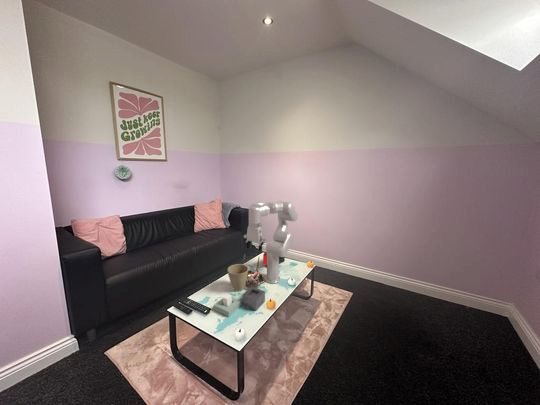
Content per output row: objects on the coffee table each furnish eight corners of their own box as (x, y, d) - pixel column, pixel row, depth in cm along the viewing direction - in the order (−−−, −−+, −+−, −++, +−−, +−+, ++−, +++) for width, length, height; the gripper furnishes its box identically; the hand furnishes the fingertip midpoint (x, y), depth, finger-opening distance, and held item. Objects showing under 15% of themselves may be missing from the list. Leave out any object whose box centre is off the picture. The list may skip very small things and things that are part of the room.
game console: (282, 258, 204) (282, 244, 202) (287, 260, 200) (287, 246, 198) (261, 267, 185) (262, 252, 182) (266, 270, 180) (267, 254, 178)
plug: (227, 303, 135) (227, 293, 134) (231, 305, 133) (231, 295, 132) (223, 307, 131) (223, 297, 130) (227, 309, 130) (227, 299, 128)
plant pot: (242, 280, 163) (242, 262, 160) (252, 290, 151) (252, 270, 149) (224, 287, 155) (224, 267, 152) (233, 297, 143) (233, 276, 140)
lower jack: (226, 299, 140) (226, 294, 140) (240, 305, 135) (240, 300, 134) (214, 310, 130) (213, 305, 130) (228, 317, 124) (228, 311, 124)
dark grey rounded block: (251, 296, 144) (251, 286, 143) (264, 301, 139) (265, 291, 138) (242, 305, 135) (241, 295, 134) (256, 311, 130) (256, 300, 128)
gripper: (268, 225, 136) (268, 249, 139) (246, 221, 144) (247, 244, 148) (262, 228, 130) (262, 254, 133) (240, 224, 138) (240, 248, 141)
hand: (254, 249), depth 140 cm, fingers open, 9 cm apart
